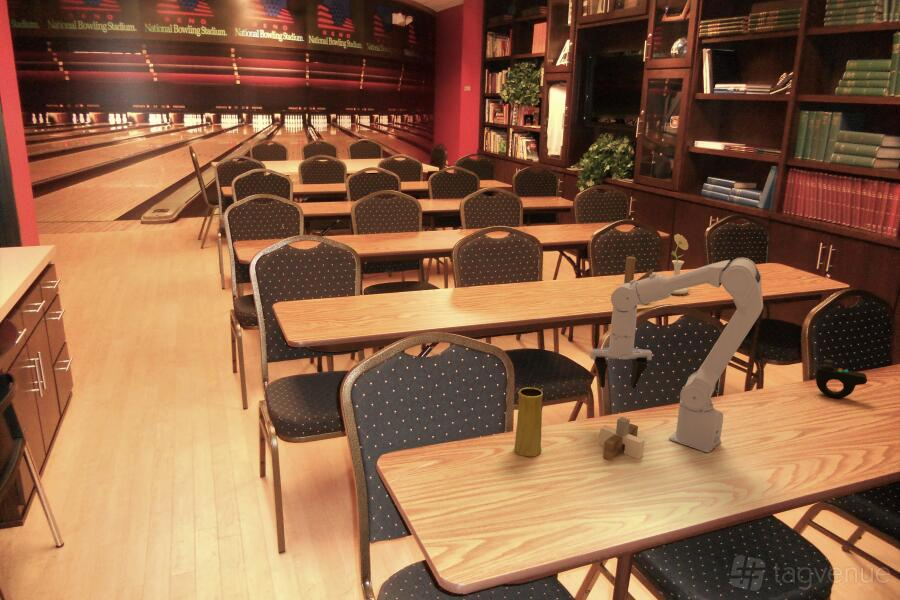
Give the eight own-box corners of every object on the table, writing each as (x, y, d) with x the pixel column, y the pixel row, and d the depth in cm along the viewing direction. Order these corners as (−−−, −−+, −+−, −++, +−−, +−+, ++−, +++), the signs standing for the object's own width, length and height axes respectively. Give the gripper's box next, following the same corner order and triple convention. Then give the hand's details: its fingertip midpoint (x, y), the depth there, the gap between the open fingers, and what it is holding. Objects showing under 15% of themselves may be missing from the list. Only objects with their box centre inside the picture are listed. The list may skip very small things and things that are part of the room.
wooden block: (646, 305, 265) (650, 261, 260) (620, 300, 271) (624, 257, 266) (649, 303, 268) (654, 259, 263) (624, 298, 274) (628, 255, 269)
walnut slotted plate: (628, 438, 156) (630, 423, 155) (636, 441, 155) (638, 426, 154) (603, 457, 147) (604, 441, 146) (611, 460, 146) (612, 444, 145)
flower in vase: (692, 296, 279) (699, 238, 272) (664, 296, 279) (671, 237, 272) (682, 288, 291) (689, 232, 284) (656, 288, 291) (662, 231, 285)
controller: (811, 389, 186) (817, 356, 184) (862, 400, 180) (869, 365, 177) (810, 394, 183) (816, 360, 180) (862, 405, 177) (869, 370, 174)
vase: (509, 446, 151) (512, 388, 148) (533, 442, 154) (536, 385, 150) (521, 459, 146) (524, 399, 142) (546, 454, 148) (550, 395, 144)
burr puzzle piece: (599, 443, 154) (601, 413, 151) (603, 440, 155) (606, 411, 153) (638, 459, 147) (641, 428, 145) (642, 456, 148) (646, 425, 146)
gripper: (596, 338, 154) (591, 392, 158) (658, 339, 155) (652, 393, 158) (589, 328, 161) (585, 380, 165) (649, 329, 161) (643, 381, 165)
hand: (617, 386), depth 162 cm, fingers open, 7 cm apart
